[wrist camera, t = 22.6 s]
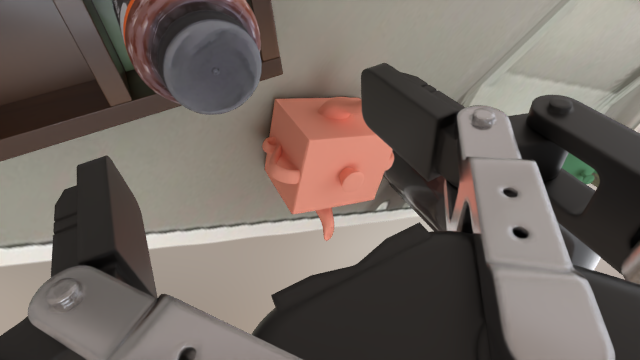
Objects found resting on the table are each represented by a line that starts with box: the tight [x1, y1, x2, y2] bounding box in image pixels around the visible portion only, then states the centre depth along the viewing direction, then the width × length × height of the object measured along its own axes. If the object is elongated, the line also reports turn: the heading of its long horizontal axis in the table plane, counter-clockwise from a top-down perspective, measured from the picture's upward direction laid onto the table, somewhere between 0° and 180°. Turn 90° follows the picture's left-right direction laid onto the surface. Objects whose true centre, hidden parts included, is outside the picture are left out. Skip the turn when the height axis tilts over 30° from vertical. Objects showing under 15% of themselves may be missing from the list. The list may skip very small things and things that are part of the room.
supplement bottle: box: [112, 0, 262, 115], centre depth 18 cm, size 6×6×11 cm
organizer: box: [0, 0, 283, 161], centre depth 20 cm, size 10×20×5 cm, turn 95°
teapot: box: [262, 97, 394, 241], centre depth 32 cm, size 12×15×8 cm
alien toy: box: [562, 153, 597, 184], centre depth 54 cm, size 7×8×10 cm
